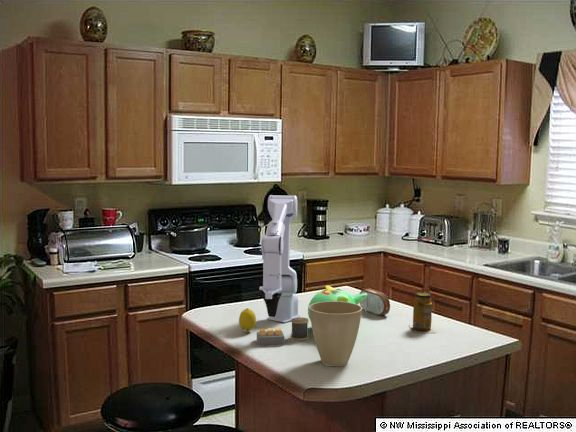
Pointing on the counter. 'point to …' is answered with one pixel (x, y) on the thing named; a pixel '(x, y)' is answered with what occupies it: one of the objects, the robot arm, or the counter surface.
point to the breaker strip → (270, 337)
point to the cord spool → (299, 328)
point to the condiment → (422, 313)
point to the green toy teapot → (335, 297)
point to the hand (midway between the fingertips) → (272, 316)
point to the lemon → (247, 320)
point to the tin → (375, 302)
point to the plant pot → (335, 330)
